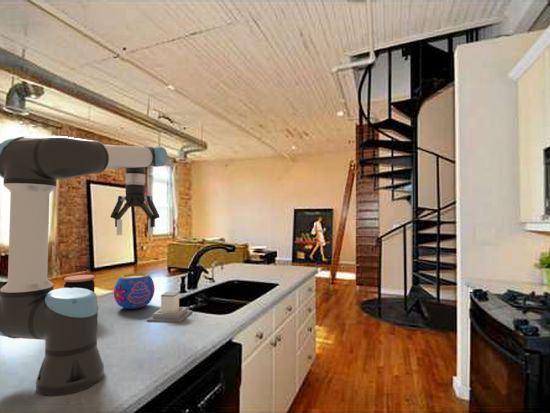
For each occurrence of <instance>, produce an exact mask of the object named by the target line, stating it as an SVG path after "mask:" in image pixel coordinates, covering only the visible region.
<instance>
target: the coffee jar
mask: <svg viewBox="0 0 550 413" xmlns="http://www.w3.org/2000/svg"><path fill="white" fill-rule="evenodd" d="M94 279H95V275H94V274H78V275H70V276H67V277H64V280H63V281H64V282H65V283H64V285H63V288H84V289H88V290H91V291H93V292H94V293H95V281H94Z"/></svg>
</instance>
